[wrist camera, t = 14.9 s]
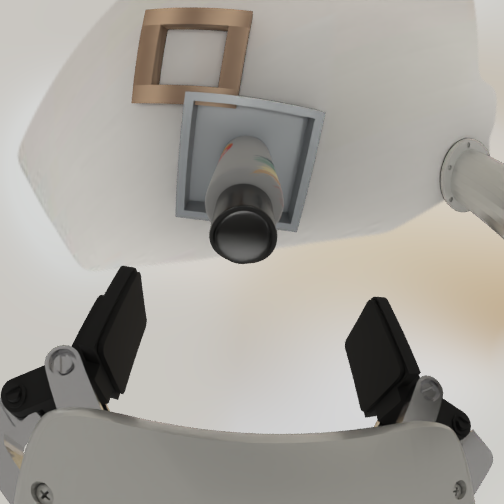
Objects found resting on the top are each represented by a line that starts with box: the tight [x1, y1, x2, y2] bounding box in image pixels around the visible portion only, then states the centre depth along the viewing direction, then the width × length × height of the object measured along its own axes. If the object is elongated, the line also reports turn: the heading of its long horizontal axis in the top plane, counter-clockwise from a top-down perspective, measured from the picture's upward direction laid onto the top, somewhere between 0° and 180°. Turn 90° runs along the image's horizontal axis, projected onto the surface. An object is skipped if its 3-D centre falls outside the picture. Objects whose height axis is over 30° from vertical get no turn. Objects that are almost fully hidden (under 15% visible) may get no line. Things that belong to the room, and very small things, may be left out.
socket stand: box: [132, 8, 253, 109], centre depth 24 cm, size 12×12×3 cm
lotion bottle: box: [205, 136, 284, 264], centre depth 24 cm, size 6×6×20 cm
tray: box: [176, 91, 326, 232], centre depth 31 cm, size 15×15×4 cm
